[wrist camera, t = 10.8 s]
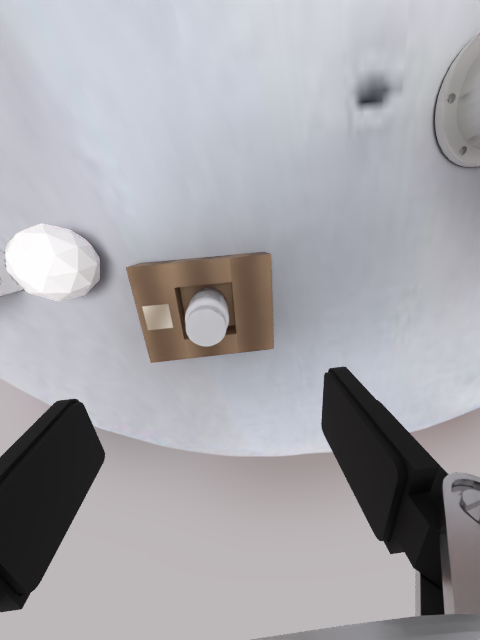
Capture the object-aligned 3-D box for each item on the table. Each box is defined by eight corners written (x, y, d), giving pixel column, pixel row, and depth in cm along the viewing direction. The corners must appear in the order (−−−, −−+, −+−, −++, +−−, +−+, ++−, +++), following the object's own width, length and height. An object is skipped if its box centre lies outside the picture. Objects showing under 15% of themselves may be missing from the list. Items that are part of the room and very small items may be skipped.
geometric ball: (73, 257, 29) (-16, 237, 22) (109, 227, 26) (18, 192, 19) (84, 311, 28) (-7, 308, 21) (123, 287, 25) (31, 274, 18)
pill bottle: (225, 321, 30) (228, 351, 23) (190, 319, 30) (180, 349, 22) (228, 287, 29) (232, 307, 21) (191, 284, 28) (180, 303, 20)
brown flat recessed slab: (264, 252, 28) (271, 254, 25) (267, 336, 33) (274, 349, 29) (138, 263, 28) (125, 267, 24) (158, 348, 32) (150, 363, 28)
